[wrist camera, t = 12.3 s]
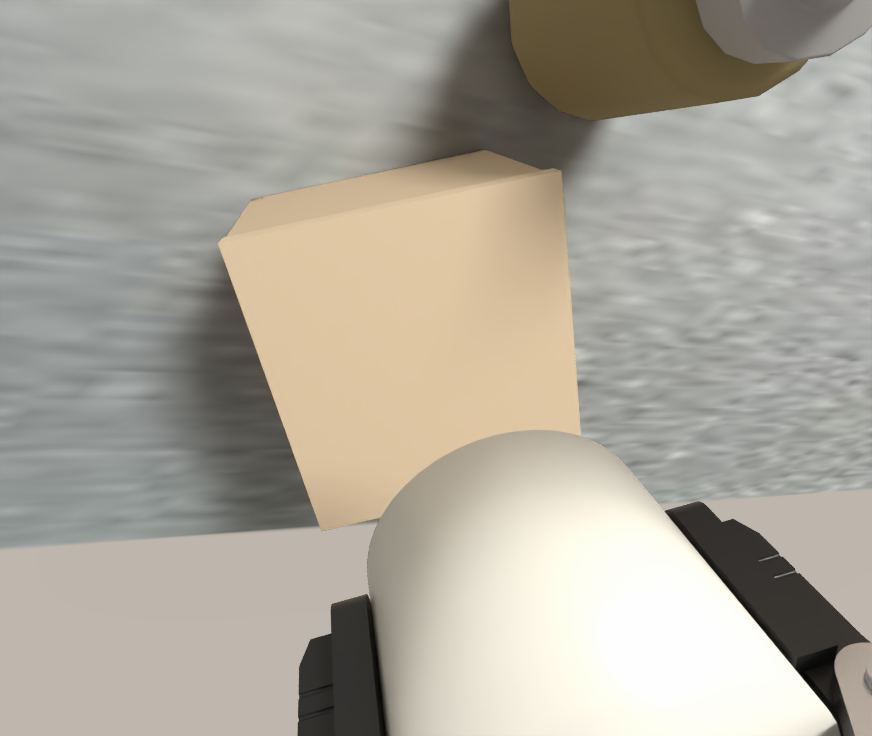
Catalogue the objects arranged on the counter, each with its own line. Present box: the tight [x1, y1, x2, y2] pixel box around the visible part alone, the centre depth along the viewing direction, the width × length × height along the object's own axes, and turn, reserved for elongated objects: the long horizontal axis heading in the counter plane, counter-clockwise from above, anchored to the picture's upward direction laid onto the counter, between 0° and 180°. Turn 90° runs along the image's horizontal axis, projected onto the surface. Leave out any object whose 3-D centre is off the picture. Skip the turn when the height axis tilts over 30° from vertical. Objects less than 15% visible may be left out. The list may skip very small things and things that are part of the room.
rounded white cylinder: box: [367, 430, 841, 736], centre depth 10 cm, size 6×6×6 cm
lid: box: [218, 168, 581, 531], centre depth 21 cm, size 11×12×1 cm
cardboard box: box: [227, 150, 541, 237], centre depth 25 cm, size 11×12×8 cm
